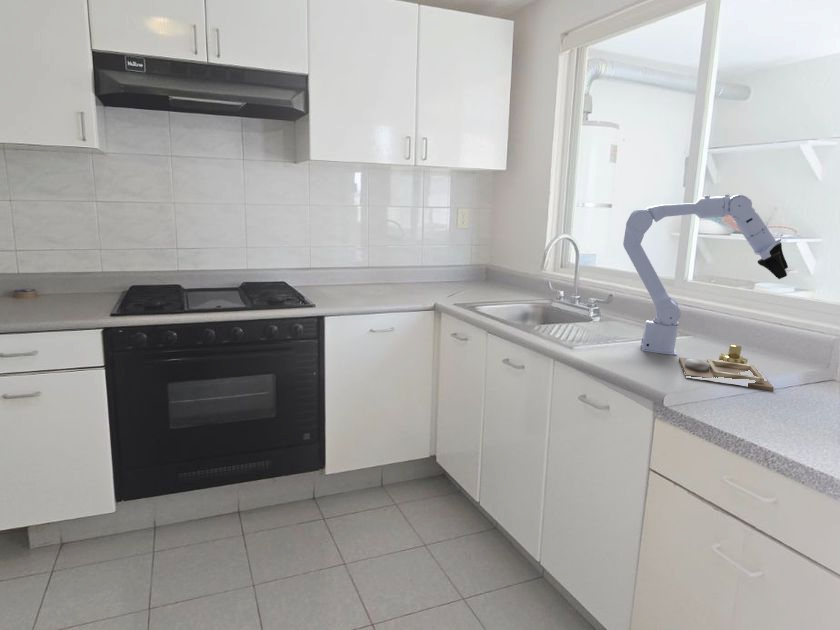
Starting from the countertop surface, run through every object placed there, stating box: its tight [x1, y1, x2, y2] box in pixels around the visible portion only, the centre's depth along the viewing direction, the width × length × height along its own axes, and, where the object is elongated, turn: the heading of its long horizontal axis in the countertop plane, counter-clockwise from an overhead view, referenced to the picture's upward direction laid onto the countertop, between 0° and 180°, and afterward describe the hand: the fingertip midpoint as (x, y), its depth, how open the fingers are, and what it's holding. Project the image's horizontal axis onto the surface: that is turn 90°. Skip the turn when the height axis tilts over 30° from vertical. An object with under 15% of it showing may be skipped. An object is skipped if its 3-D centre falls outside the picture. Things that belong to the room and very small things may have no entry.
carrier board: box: [678, 356, 774, 392], centre depth 148 cm, size 20×16×2 cm
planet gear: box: [718, 343, 749, 364], centre depth 159 cm, size 7×7×5 cm
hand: (783, 273), depth 152 cm, fingers open, 7 cm apart
